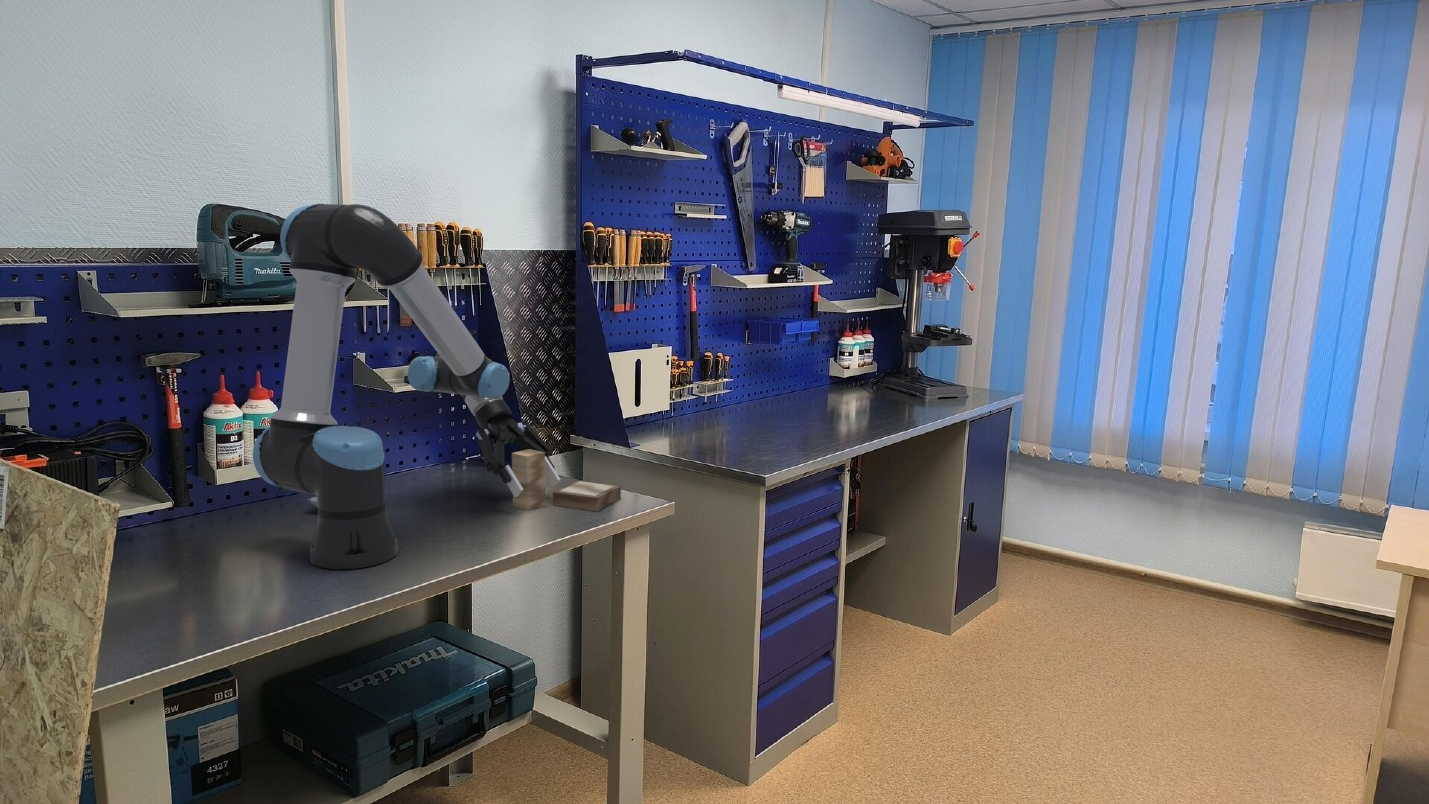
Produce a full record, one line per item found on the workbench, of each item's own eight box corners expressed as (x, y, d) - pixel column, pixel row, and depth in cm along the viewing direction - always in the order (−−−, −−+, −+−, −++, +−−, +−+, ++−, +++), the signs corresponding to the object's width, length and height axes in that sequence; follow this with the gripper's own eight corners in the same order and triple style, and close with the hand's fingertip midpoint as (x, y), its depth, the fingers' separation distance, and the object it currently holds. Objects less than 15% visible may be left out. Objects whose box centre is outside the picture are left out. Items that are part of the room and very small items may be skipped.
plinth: (596, 511, 203) (596, 497, 202) (552, 505, 207) (552, 491, 206) (620, 498, 213) (620, 485, 212) (578, 493, 217) (578, 479, 216)
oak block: (528, 510, 203) (527, 456, 201) (512, 506, 206) (511, 453, 204) (545, 505, 207) (544, 452, 205) (530, 501, 210) (529, 449, 208)
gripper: (519, 411, 221) (567, 487, 215) (439, 425, 203) (489, 509, 197) (535, 391, 217) (584, 468, 211) (454, 404, 199) (505, 489, 193)
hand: (538, 488), depth 204 cm, fingers open, 10 cm apart
